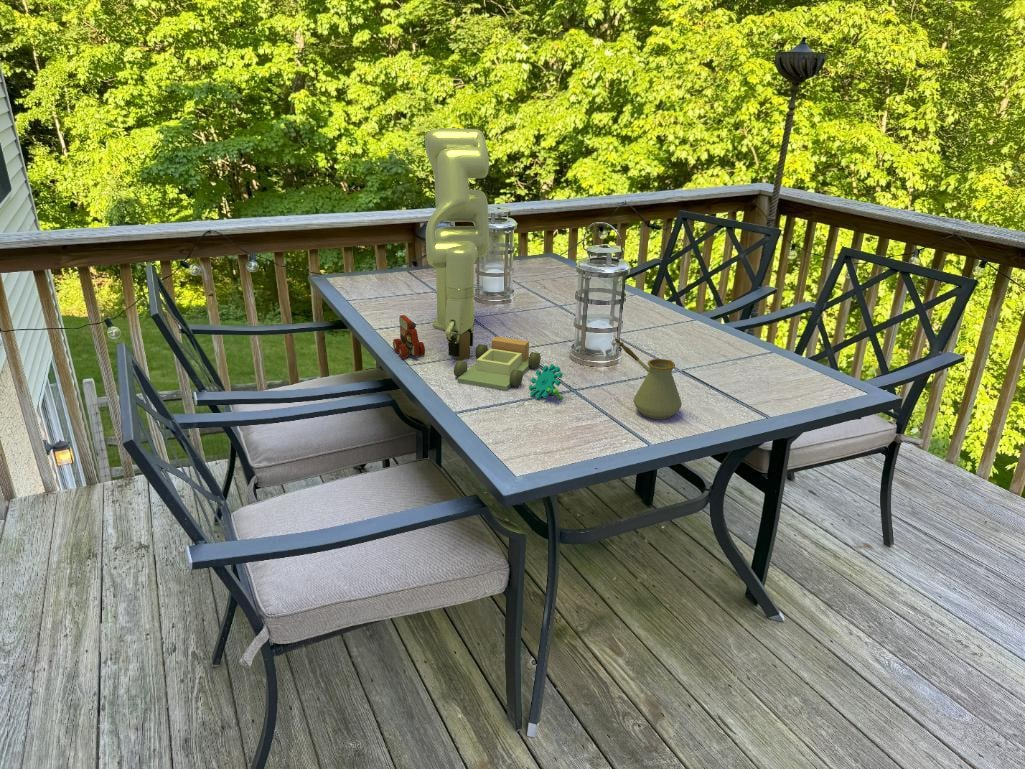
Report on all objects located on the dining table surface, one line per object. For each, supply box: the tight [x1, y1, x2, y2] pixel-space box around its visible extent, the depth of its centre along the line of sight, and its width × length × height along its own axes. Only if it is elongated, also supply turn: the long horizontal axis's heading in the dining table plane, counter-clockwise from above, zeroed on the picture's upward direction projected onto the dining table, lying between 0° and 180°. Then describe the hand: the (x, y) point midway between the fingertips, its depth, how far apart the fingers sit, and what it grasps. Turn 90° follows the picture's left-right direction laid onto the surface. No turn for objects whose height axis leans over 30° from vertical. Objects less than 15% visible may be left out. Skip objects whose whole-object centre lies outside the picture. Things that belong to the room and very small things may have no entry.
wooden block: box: [452, 330, 471, 361], centre depth 209 cm, size 4×4×8 cm
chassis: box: [453, 335, 542, 392], centre depth 200 cm, size 22×18×6 cm
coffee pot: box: [611, 337, 683, 420], centre depth 179 cm, size 21×12×15 cm, turn 39°
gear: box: [528, 363, 564, 401], centre depth 186 cm, size 11×6×10 cm
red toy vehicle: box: [392, 314, 426, 359], centre depth 211 cm, size 7×12×10 cm, turn 26°
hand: (461, 350), depth 210 cm, fingers open, 8 cm apart
